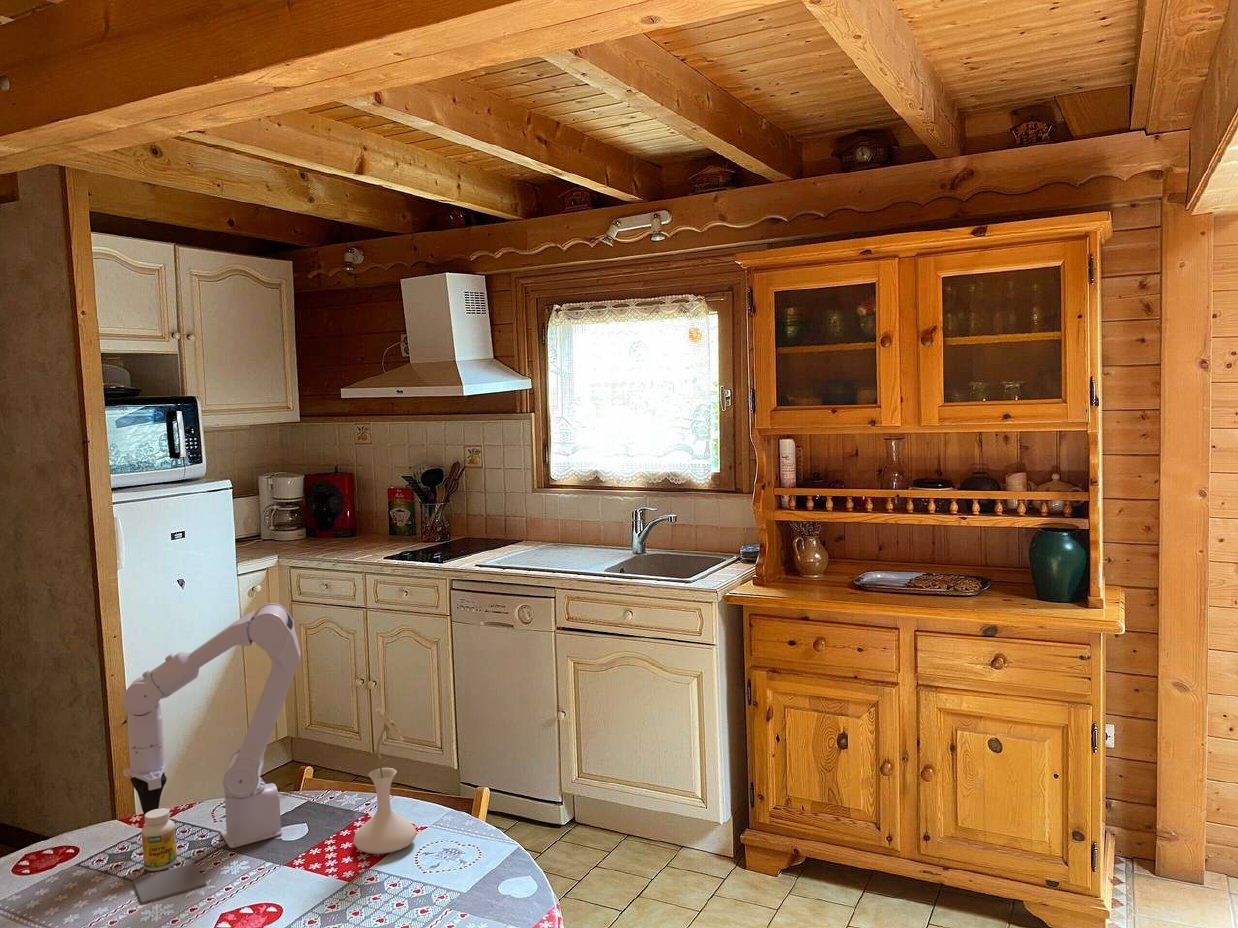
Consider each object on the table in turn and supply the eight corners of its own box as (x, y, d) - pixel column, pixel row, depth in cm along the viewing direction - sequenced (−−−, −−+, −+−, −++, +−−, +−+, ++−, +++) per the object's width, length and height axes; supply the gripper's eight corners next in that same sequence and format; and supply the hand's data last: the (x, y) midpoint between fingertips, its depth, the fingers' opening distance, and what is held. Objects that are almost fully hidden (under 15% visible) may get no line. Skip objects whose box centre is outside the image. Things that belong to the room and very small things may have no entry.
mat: (195, 864, 173) (194, 862, 172) (206, 885, 165) (206, 883, 165) (133, 881, 167) (133, 879, 167) (142, 904, 159) (141, 901, 159)
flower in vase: (418, 855, 174) (413, 720, 172) (352, 864, 172) (346, 727, 170) (415, 823, 187) (410, 697, 185) (354, 831, 184) (348, 703, 182)
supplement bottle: (174, 854, 177) (171, 803, 176) (179, 865, 172) (176, 814, 171) (141, 862, 174) (138, 811, 173) (146, 874, 169) (142, 822, 168)
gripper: (116, 736, 181) (120, 806, 183) (128, 760, 170) (133, 834, 171) (157, 728, 185) (161, 796, 187) (171, 750, 174) (176, 823, 175)
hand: (150, 814), depth 179 cm, fingers closed
